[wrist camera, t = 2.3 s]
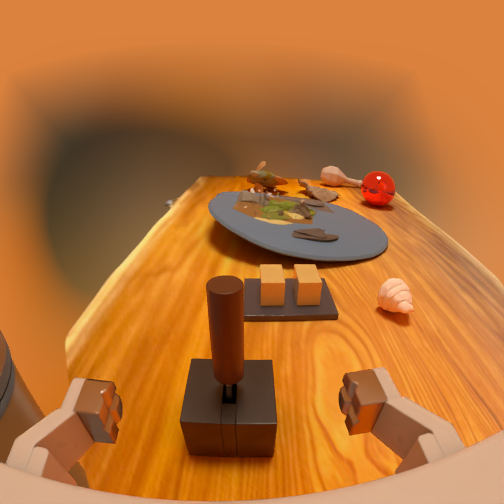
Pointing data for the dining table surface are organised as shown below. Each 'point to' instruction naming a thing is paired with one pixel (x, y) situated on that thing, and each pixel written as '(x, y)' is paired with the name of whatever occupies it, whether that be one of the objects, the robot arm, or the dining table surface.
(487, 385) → the dining table surface
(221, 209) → the serving platter
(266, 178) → the decorative fish sculpture
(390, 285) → the peach ridged curved piece
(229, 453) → the brown slotted box
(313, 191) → the coral
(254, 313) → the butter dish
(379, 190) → the ball
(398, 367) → the dining table surface
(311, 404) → the dining table surface
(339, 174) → the faceted beige polyhedron
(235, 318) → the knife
